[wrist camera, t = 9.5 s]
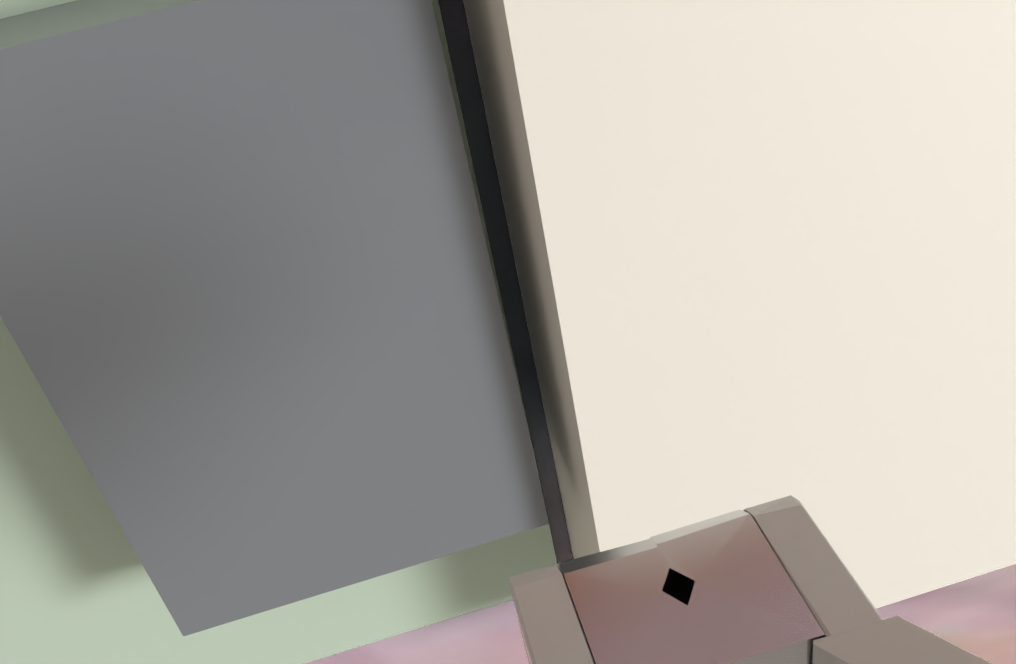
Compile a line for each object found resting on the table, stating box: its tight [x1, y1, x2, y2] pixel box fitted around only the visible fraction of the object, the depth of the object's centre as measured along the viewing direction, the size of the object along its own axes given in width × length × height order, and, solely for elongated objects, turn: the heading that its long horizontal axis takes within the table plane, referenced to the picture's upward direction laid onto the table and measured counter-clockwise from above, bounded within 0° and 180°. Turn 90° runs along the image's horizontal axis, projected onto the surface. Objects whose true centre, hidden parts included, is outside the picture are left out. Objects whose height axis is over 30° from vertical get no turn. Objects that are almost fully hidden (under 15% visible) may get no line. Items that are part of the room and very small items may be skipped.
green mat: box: [0, 0, 558, 664], centre depth 19 cm, size 22×14×1 cm, turn 10°
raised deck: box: [463, 0, 1016, 609], centre depth 19 cm, size 22×16×4 cm
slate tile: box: [0, 0, 549, 636], centre depth 18 cm, size 12×8×2 cm, turn 11°
